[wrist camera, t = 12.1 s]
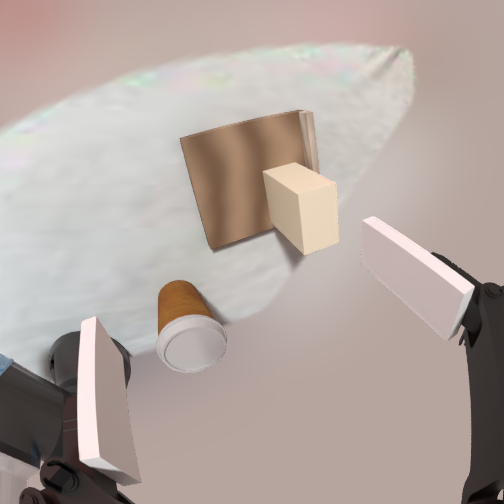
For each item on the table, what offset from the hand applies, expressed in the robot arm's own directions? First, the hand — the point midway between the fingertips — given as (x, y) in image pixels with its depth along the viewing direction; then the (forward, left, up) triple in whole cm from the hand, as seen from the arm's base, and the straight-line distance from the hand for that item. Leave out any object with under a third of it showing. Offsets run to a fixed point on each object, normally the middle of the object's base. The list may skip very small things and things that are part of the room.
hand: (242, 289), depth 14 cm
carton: (+14, -9, -27) cm, 32 cm away
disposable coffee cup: (-5, -21, -29) cm, 36 cm away
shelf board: (+10, -6, -29) cm, 31 cm away
